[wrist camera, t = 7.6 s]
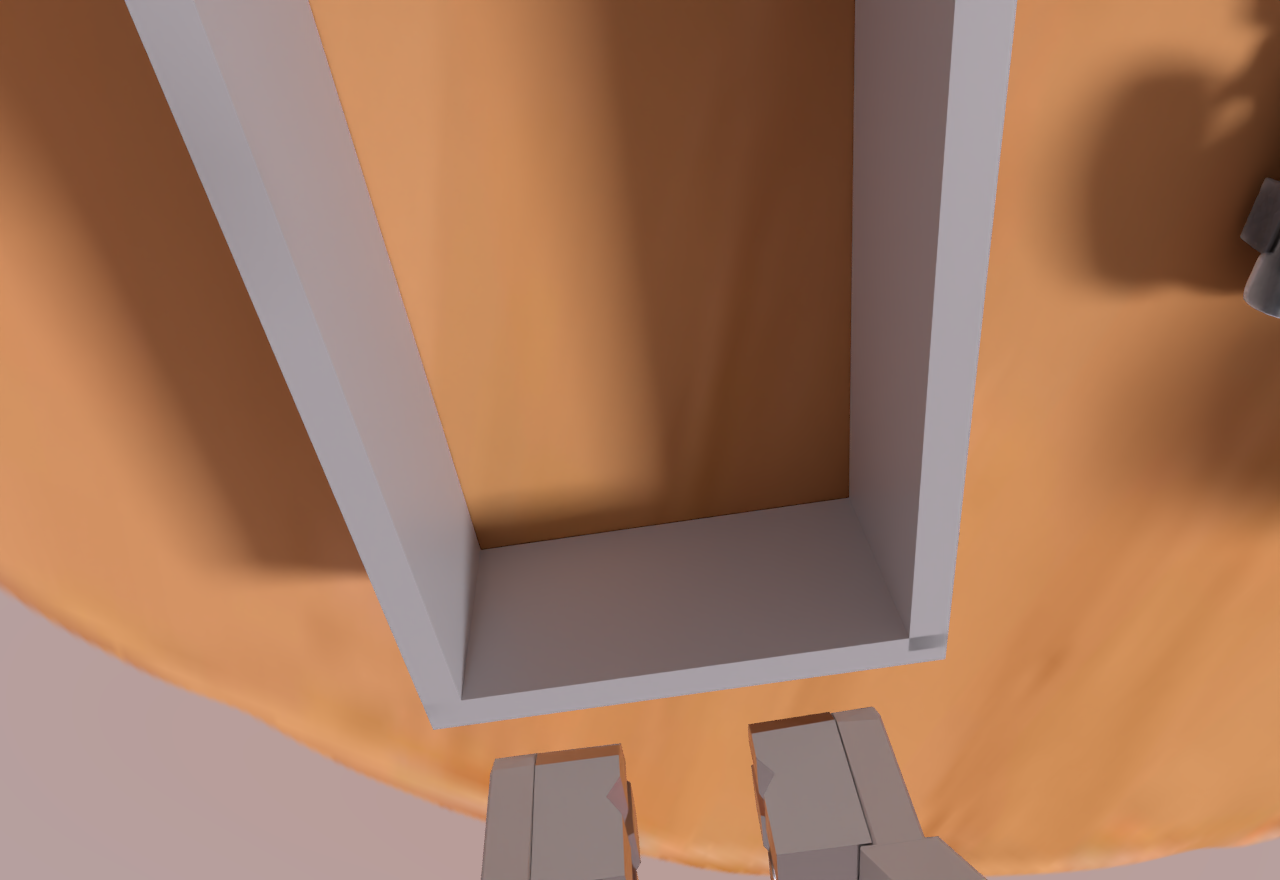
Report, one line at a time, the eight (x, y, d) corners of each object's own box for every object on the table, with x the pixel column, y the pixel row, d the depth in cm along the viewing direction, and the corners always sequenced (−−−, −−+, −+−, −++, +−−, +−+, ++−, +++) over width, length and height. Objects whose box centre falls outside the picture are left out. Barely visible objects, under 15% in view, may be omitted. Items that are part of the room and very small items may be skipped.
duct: (148, -322, 18) (-46, -402, 13) (917, -447, 18) (1080, -588, 12) (457, 577, 33) (433, 729, 27) (879, 517, 33) (945, 658, 27)
